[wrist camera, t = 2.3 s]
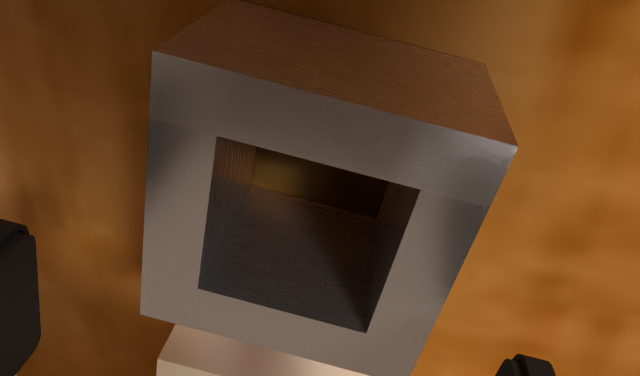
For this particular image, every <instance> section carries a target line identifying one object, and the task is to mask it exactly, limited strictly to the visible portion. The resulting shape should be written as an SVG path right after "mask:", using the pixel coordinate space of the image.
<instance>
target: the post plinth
mask: <svg viewBox="0 0 640 376" xmlns="http://www.w3.org/2000/svg"><path fill="white" fill-rule="evenodd" d="M156 376H369V375H365V374H361V373H358V372H354V371H350V370H346V369H343V368H339V367H335V366H331V365H328V364H324V363H320V362H316V361H313V360H309V359H305V358H301V357H298V356H294V355H290V354H286V353H283V352H279V351H275V350H272V349H268V348H264V347H260V346H257V345H253V344H249V343H245V342H242V341H238V340H234V339H230V338H227V337H223V336H219V335H215V334H212V333H208V332H204V331H200V330H197V329H193V328H189V327H185V326H182V325H178V324H175V326H174V328H173V330H172V332H171V334H170V336H169V338H168V339H167V341H166V343H165V345H164V347H163V349H162V351H161V353H160V355H159V357H158V359H157V372H156Z"/></svg>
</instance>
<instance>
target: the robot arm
mask: <svg viewBox="0 0 640 376" xmlns="http://www.w3.org/2000/svg"><path fill="white" fill-rule="evenodd" d="M40 336H41V327H40V310H39V293H38V275H37V258H36V242H35V238H34V236H33V235H30V234H29V231H28V228H27V227H26V226H24V225H22V224H18V223H14V222H10V221H6V220H2V219H0V376H15V375H16V373H17V372H18V371H19V370H20V368H21V367H22V366H23V365H24V363H25V362H26V361H27V360H28V358H29V357H30V356H31V355H32V353H33V352H34V351H35V349H36V347H37V345H38V343H39V340H40ZM495 376H556V375H555V372H554V369H553V367H552V365H551V364H550V363H549V362H548V361H545V360H541V359H537V358H533V357H529V356H526V355H522V354H517V355H516V356H515V357H514V358H513V359H512V360H510V359H506V360H504V362H503V363H502V365H501V366H500V368H499V370H498V372H497V374H496V375H495Z"/></svg>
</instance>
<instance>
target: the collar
mask: <svg viewBox="0 0 640 376" xmlns="http://www.w3.org/2000/svg"><path fill="white" fill-rule="evenodd" d="M257 147H261V148H265V149H268V150H272V151H276V152H280V153H284V154H287V155H291V156H295V157H299V158H303V159H306V160H310V161H314V162H318V163H322V164H325V165H329V166H333V167H337V168H341V169H344V170H348V171H352V172H356V173H359V174H363V175H367V176H371V177H375V178H378V179H382V180H386V181H389V183H388V186H387V189H386V192H385V195H384V198H383V201H382V204H381V207H380V210H379V213H378V216H377V218H373V217H370V216H366V215H362V214H358V213H354V212H351V211H347V210H343V209H339V208H335V207H332V206H328V205H324V204H320V203H317V202H313V201H309V200H305V199H301V198H298V197H294V196H290V195H286V194H282V193H279V192H275V191H271V190H267V189H264V188H260V187H256V186H252V185H250V184H251V179H252V173H253V167H254V161H255V156H256V150H257ZM517 148H518V144H517V142H516V140H515V137H514V135H513V132H512V130H511V127H510V125H509V123H508V120H507V118H506V115H505V113H504V110H503V108H502V106H501V103H500V101H499V98H498V96H497V93H496V91H495V89H494V86H493V84H492V81H491V79H490V76H489V74H488V71H487V69H486V67H485V64H482V63H478V62H474V61H471V60H467V59H463V58H459V57H455V56H451V55H448V54H444V53H440V52H436V51H432V50H428V49H425V48H421V47H417V46H413V45H409V44H405V43H402V42H398V41H394V40H390V39H386V38H382V37H379V36H375V35H371V34H367V33H363V32H359V31H356V30H352V29H348V28H344V27H340V26H336V25H333V24H329V23H325V22H321V21H317V20H313V19H310V18H306V17H302V16H298V15H294V14H290V13H287V12H283V11H279V10H275V9H271V8H267V7H264V6H260V5H256V4H252V3H248V2H244V1H241V0H226V1H224V2H223V3H221V4H220V5H218V6H217V7H215V8H214V9H212V10H211V11H209V12H208V13H206V14H205V15H204V16H202V17H201V18H199V19H198V20H196V21H195V22H193V23H192V24H190V25H189V26H187V27H186V28H184V29H183V30H181V31H180V32H179V33H177V34H176V35H174V36H173V37H171V38H170V39H168V40H167V41H165V42H164V43H162V44H161V45H159V46H158V47H156V48H155V49H154V50H152V63H151V84H150V106H149V127H148V149H147V170H146V191H145V213H144V234H143V255H142V277H141V298H140V314H141V315H144V316H148V317H152V318H156V319H159V320H163V321H167V322H171V323H174V324H178V325H182V326H185V327H189V328H193V329H197V330H200V331H204V332H208V333H212V334H215V335H219V336H223V337H227V338H230V339H234V340H238V341H242V342H245V343H249V344H253V345H257V346H260V347H264V348H268V349H272V350H275V351H279V352H283V353H286V354H290V355H294V356H298V357H301V358H305V359H309V360H313V361H316V362H320V363H324V364H328V365H331V366H335V367H339V368H343V369H346V370H350V371H354V372H358V373H361V374H365V375H369V376H410V374H411V372H412V370H413V368H414V366H415V364H416V362H417V359H418V357H419V355H420V353H421V351H422V349H423V347H424V345H425V343H426V340H427V338H428V336H429V334H430V332H431V330H432V328H433V326H434V324H435V321H436V319H437V317H438V315H439V313H440V311H441V309H442V307H443V305H444V302H445V300H446V298H447V296H448V294H449V292H450V290H451V288H452V286H453V283H454V281H455V279H456V277H457V275H458V273H459V271H460V269H461V267H462V264H463V262H464V260H465V258H466V256H467V254H468V252H469V250H470V248H471V245H472V243H473V241H474V239H475V237H476V235H477V233H478V231H479V229H480V226H481V224H482V222H483V220H484V218H485V216H486V214H487V212H488V210H489V207H490V205H491V203H492V201H493V199H494V197H495V195H496V193H497V191H498V188H499V186H500V184H501V182H502V180H503V178H504V176H505V174H506V172H507V169H508V167H509V165H510V163H511V161H512V159H513V157H514V155H515V153H516V150H517Z"/></svg>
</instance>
